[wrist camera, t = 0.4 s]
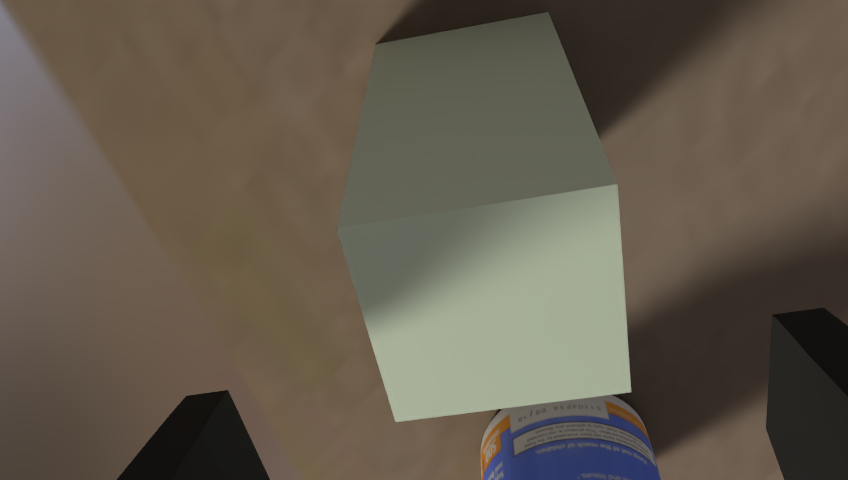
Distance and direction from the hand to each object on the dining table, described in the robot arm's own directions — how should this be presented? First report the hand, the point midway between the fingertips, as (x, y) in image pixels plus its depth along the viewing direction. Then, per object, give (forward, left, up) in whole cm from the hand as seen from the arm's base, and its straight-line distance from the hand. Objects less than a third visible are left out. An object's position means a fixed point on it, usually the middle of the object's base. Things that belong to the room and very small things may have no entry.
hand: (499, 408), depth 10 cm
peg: (0, 0, -10) cm, 10 cm away
